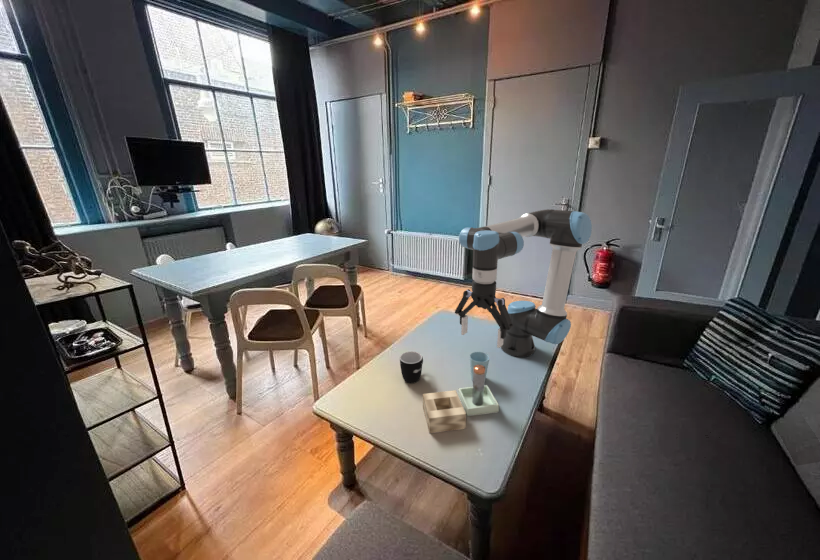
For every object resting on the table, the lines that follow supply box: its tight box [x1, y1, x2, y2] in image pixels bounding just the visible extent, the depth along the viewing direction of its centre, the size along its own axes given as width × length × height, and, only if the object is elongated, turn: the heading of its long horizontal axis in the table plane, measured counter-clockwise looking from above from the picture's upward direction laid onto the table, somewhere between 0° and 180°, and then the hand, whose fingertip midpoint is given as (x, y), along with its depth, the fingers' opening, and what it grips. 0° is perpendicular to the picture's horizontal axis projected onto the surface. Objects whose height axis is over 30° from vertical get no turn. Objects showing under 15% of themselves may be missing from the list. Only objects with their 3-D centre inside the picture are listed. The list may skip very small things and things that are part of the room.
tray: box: [457, 384, 500, 417], centre depth 118 cm, size 11×11×3 cm
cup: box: [469, 351, 490, 381], centre depth 130 cm, size 8×8×10 cm
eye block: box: [422, 389, 467, 434], centre depth 111 cm, size 12×12×6 cm
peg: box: [472, 365, 486, 406], centre depth 116 cm, size 4×4×14 cm
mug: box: [399, 351, 424, 384], centre depth 132 cm, size 12×9×10 cm
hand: (481, 339), depth 110 cm, fingers open, 13 cm apart
